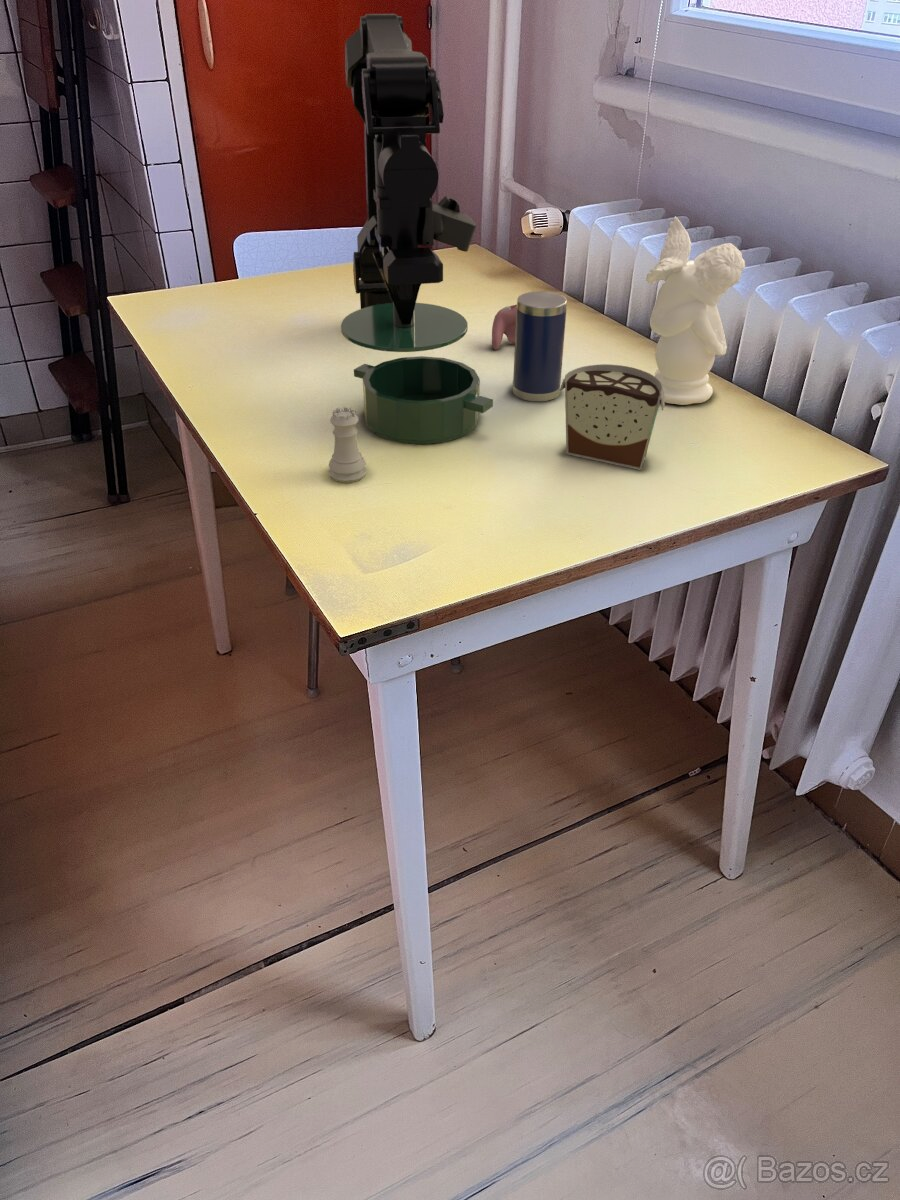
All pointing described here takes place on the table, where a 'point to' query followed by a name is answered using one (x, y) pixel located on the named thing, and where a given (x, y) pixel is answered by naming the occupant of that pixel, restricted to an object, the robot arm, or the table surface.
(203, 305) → the table surface
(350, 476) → the rook chess piece
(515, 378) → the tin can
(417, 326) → the pot lid
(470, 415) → the pot
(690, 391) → the cherub figurine
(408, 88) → the robot arm
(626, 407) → the food container
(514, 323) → the video game controller
